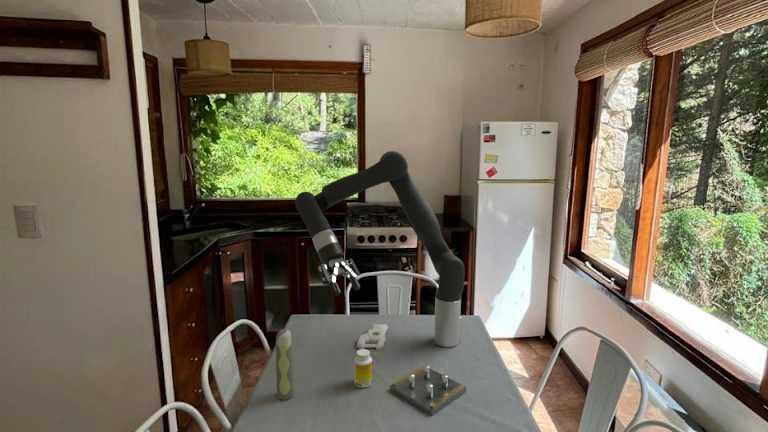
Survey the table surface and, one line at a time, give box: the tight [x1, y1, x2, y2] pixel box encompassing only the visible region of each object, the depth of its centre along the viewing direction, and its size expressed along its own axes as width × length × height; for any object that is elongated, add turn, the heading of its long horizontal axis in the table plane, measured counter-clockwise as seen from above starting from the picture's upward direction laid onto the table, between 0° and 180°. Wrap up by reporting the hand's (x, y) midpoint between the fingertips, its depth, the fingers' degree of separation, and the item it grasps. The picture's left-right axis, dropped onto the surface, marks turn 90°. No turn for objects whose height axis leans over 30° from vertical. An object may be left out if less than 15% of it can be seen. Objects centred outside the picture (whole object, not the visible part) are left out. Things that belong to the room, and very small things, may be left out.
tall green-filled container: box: [275, 328, 295, 401], centre depth 117 cm, size 5×5×20 cm
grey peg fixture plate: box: [389, 364, 467, 416], centre depth 121 cm, size 16×16×5 cm
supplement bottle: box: [353, 348, 373, 389], centre depth 124 cm, size 6×6×10 cm
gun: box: [356, 323, 389, 351], centre depth 153 cm, size 18×3×10 cm
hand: (348, 292), depth 128 cm, fingers open, 8 cm apart
